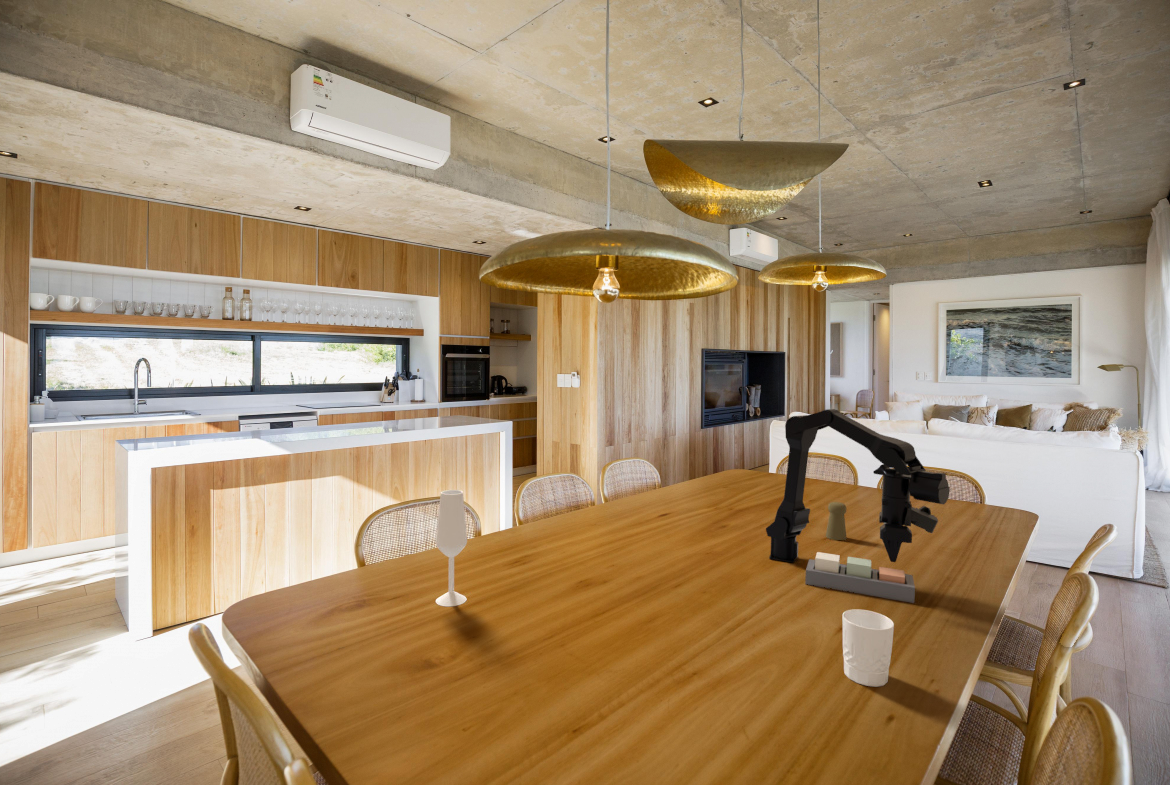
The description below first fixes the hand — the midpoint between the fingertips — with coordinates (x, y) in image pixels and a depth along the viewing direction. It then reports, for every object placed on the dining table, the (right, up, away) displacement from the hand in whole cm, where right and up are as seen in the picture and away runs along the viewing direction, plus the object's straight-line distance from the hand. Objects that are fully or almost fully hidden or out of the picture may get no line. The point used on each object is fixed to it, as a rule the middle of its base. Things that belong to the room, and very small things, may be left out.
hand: (893, 561), depth 135 cm
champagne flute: (-102, -6, -8) cm, 102 cm away
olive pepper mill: (+6, -6, +43) cm, 44 cm away
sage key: (-6, -5, +3) cm, 9 cm away
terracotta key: (0, -7, 0) cm, 7 cm away
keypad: (-6, -7, +4) cm, 10 cm away
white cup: (-24, -9, -37) cm, 45 cm away
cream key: (-13, -5, +7) cm, 15 cm away
